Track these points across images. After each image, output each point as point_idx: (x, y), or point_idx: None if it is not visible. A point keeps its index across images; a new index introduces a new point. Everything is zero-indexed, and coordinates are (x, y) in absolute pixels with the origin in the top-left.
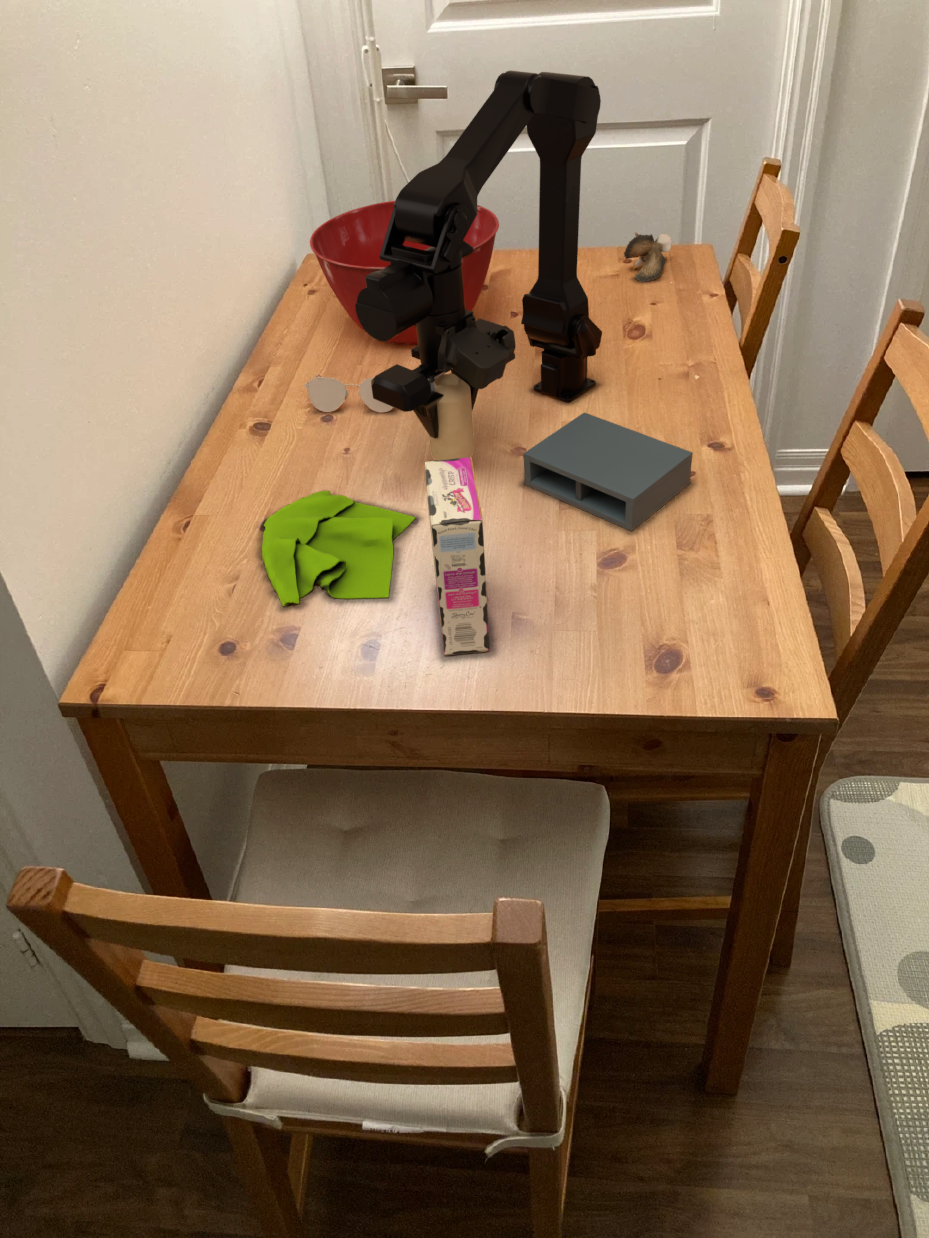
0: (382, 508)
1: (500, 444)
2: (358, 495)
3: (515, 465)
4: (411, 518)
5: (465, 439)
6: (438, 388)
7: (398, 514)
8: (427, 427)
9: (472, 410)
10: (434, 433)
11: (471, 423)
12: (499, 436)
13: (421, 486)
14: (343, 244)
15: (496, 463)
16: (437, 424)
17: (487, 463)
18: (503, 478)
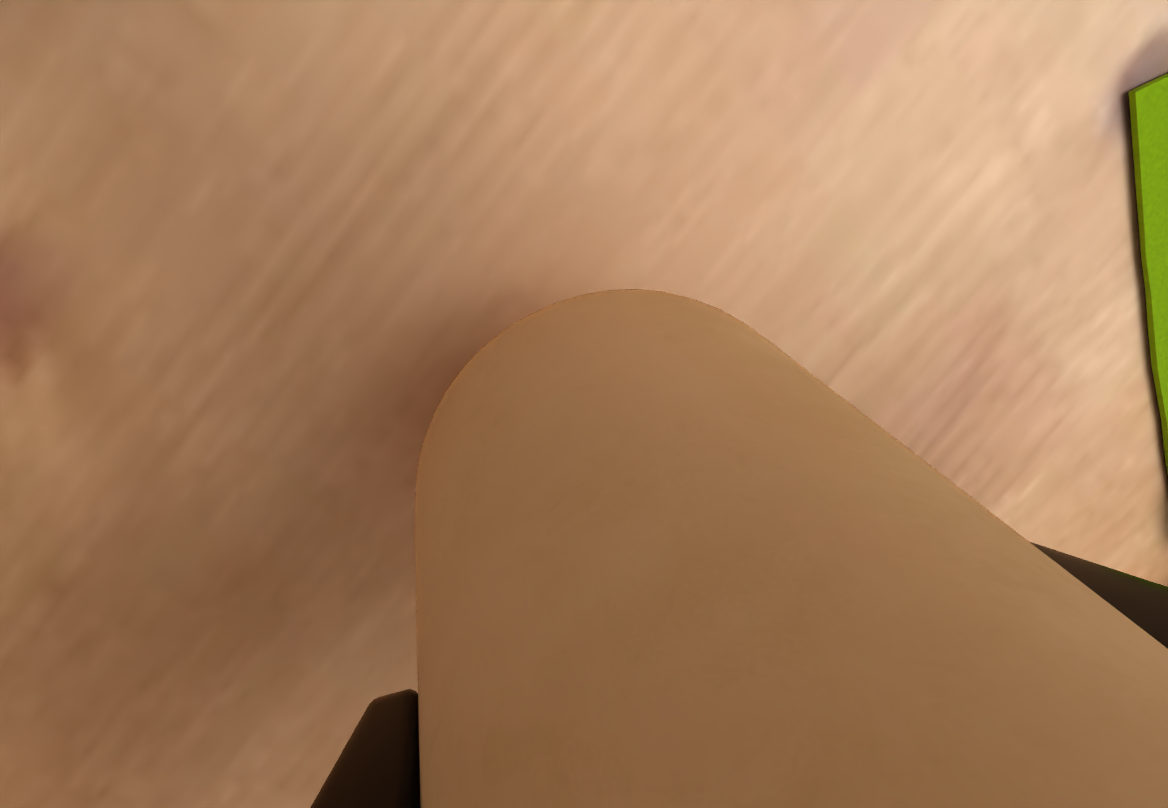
0: (1156, 326)
1: (61, 487)
2: (1099, 524)
3: (108, 142)
4: (1156, 102)
5: (685, 365)
6: None
7: (1159, 205)
8: None
9: (335, 769)
10: (1086, 563)
11: (565, 500)
12: (8, 581)
13: (839, 386)
14: None
15: (245, 283)
16: (1162, 635)
17: (310, 331)
18: (324, 45)
